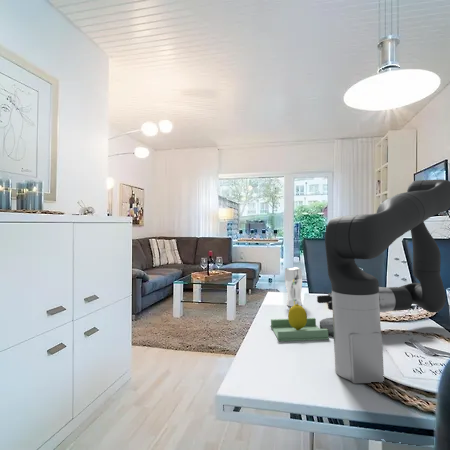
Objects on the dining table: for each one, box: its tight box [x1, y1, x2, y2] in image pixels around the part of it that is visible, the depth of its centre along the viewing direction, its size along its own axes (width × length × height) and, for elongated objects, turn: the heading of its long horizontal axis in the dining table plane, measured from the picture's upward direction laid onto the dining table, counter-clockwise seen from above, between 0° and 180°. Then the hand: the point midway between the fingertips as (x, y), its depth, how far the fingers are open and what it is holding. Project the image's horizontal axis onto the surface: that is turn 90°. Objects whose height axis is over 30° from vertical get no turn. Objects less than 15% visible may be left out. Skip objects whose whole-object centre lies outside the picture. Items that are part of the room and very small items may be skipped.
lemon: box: [287, 304, 308, 330], centre depth 91 cm, size 6×6×8 cm
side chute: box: [270, 317, 330, 342], centre depth 91 cm, size 14×14×2 cm
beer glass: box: [284, 267, 303, 308], centre depth 124 cm, size 7×7×15 cm
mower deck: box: [319, 317, 334, 338], centre depth 91 cm, size 14×14×2 cm
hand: (322, 302), depth 91 cm, fingers open, 8 cm apart
